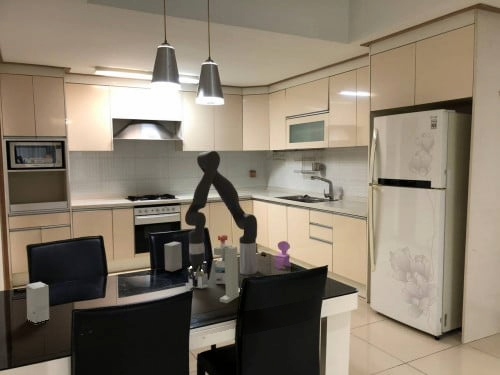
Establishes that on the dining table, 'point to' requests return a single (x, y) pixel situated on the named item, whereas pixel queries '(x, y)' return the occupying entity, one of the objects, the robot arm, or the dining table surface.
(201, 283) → the housing
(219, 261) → the ram
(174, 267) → the skincare box
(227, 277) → the press frame
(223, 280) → the light bulb box
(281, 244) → the purple upright piece
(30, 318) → the skincare box
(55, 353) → the dining table surface
